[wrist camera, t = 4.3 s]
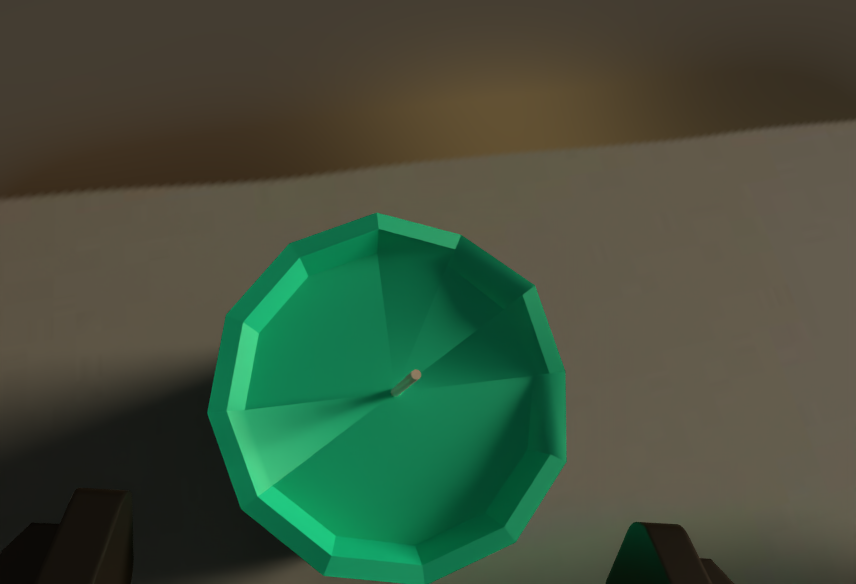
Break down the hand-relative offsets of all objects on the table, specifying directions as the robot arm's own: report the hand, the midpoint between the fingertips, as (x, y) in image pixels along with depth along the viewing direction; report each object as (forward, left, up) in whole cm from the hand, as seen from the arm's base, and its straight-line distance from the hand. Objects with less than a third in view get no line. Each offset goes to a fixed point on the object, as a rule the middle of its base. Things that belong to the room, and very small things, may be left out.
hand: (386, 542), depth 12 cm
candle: (+2, +2, -10) cm, 10 cm away
